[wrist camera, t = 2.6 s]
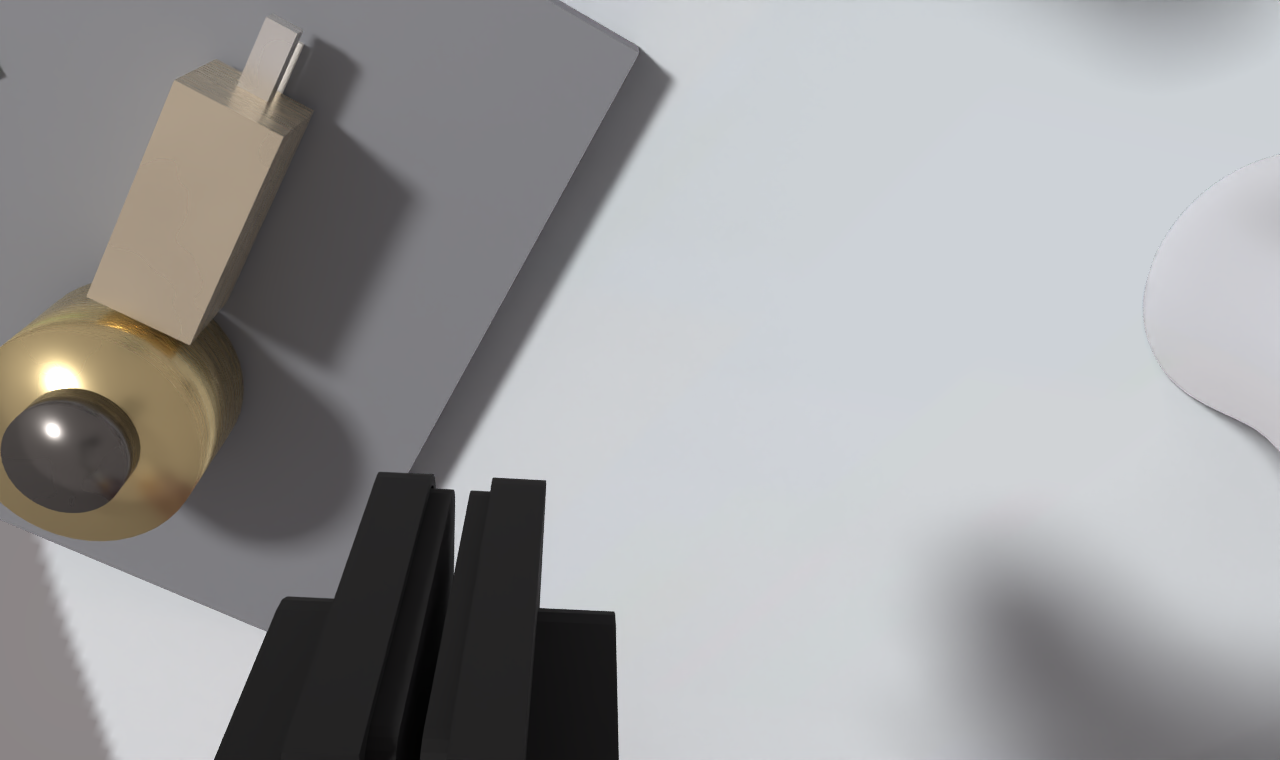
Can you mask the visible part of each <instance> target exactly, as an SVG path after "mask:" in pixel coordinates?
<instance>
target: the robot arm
mask: <svg viewBox="0 0 1280 760" xmlns="http://www.w3.org/2000/svg"><path fill="white" fill-rule="evenodd" d="M545 496H546V480H528V479H509V478H493V479H492V484H491V490H490V492H488V491H470V495H469V500H468V505H467V511H466V516H465V521H464V526H463V531H462V536H461V541H460V546H459V552H458V557H457V562H456V567H455V572H454V530H455V492H454V490H450V489H436V485H435V477H434V474H416V473H398V472H378V474H377V476H376V479H375V482H374V484H373V487H372V490H371V493H370V496H369V499H368V502H367V505H366V508H365V510H364V513H363V516H362V519H361V522H360V525H359V528H358V531H357V534H356V536H355V539H354V542H353V545H352V548H351V551H350V554H349V557H348V560H347V562H346V565H345V568H344V571H343V574H342V577H341V580H340V583H339V586H338V588H337V591H336V594H335V597H334V599H333V598H312V597H291V596H287V597H285V598H283V599H282V600H281V602H280V604H279V606H278V608H277V609H276V612H275V614H274V617H273V619H272V621H271V624H270V626H269V629H268V631H267V633H266V636H265V638H264V641H263V643H262V645H261V648H260V650H259V653H258V655H257V657H256V660H255V662H254V665H253V667H252V670H251V672H250V674H249V677H248V679H247V682H246V684H245V686H244V689H243V691H242V694H241V696H240V698H239V701H238V703H237V706H236V708H235V710H234V713H233V715H232V718H231V720H230V722H229V725H228V727H227V730H226V732H225V734H224V737H223V739H222V742H221V744H220V746H219V749H218V751H217V754H216V756H215V759H214V760H619V750H618V706H617V661H616V621H615V613H614V612H610V611H589V610H567V609H546V608H539V607H540V589H541V571H542V552H543V534H544V515H545Z"/></svg>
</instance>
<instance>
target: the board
mask: <svg viewBox="0 0 1280 760" xmlns="http://www.w3.org/2000/svg"><path fill="white" fill-rule="evenodd" d="M271 14H275V15H277V16H279V17H280V18H282V19H284V20H286V21H288V22H290V23H291V24H293V25H295V26H297V27H299V28H301V29H302V30H304V31H303V33H302V35H301V37H300V40H299V42H298V44H297V46H296V49H295V51H294V53H293V56H292V58H291V60H290V62H289V65H288V67H287V69H286V71H285V74H284V76H283V78H282V81H281V83H280V85H279V87H278V90H277V91H278V92H280V93H282V94H284V95H286V96H287V97H289V98H291V99H293V100H295V101H297V102H299V103H301V104H303V105H304V106H306V107H308V108H310V109H312V110H314V112H313V114H312V116H311V118H310V121H309V123H308V125H307V127H306V129H305V132H304V134H303V136H302V138H301V140H300V143H299V145H298V147H297V149H296V151H295V154H294V156H293V158H292V160H291V162H290V165H289V167H288V169H287V171H286V173H285V176H284V178H283V180H282V182H281V184H280V187H279V189H278V191H277V193H276V195H275V198H274V200H273V202H272V204H271V206H270V209H269V211H268V213H267V215H266V217H265V220H264V222H263V224H262V226H261V228H260V231H259V233H258V235H257V237H256V239H255V242H254V244H253V246H252V248H251V250H250V253H249V255H248V257H247V259H246V261H245V264H244V266H243V268H242V270H241V272H240V275H239V277H238V279H237V281H236V283H235V286H234V288H233V290H232V292H231V294H230V297H229V299H228V301H227V303H226V304H225V305H224V306H223V307H222V308H221V310H220V311H219V312H218V313H217V314H216V315H215V317H214V318H213V319H214V320H215V321H216V323H217V324H218V325H219V326H220V327H221V328H222V330H223V331H224V333H225V334H226V335H227V337H228V338H229V340H230V342H231V344H232V346H233V348H234V349H235V352H236V354H237V357H238V359H239V362H240V366H241V370H242V375H243V385H244V392H243V402H242V407H241V412H240V414H239V417H238V419H237V422H236V424H235V426H234V427H233V429H232V431H231V432H230V434H229V436H228V437H227V439H226V440H225V442H224V443H223V445H222V446H221V448H220V449H219V451H218V452H217V454H216V455H215V457H214V459H213V460H212V462H211V463H210V465H209V466H208V468H207V469H206V471H205V472H204V474H203V475H202V477H201V478H200V480H199V482H198V483H197V485H196V486H195V488H194V489H193V491H192V492H191V494H190V495H189V497H188V498H187V500H186V501H185V503H184V504H183V505H182V506H181V508H180V509H179V510H178V511H177V512H176V513H175V514H174V515H173V516H172V517H171V518H169V519H168V520H167V521H165V522H164V523H162V524H161V525H160V526H158V527H156V528H154V529H152V530H150V531H148V532H146V533H143V534H140V535H137V536H134V537H131V538H126V539H121V540H114V541H86V540H79V539H72V538H68V537H64V536H60V535H57V534H54V533H51V532H49V531H46V530H43V529H41V528H39V527H37V526H35V525H33V524H31V523H29V522H27V521H25V520H24V519H22V518H21V517H19V516H17V515H16V514H14V513H13V512H12V511H10V510H9V509H8V508H7V507H5V506H4V505H3V504H2V503H1V502H0V520H2V521H4V522H7V523H9V524H11V525H14V526H16V527H18V528H21V529H23V530H25V531H28V532H30V533H33V534H35V535H37V536H40V537H42V538H44V539H47V540H49V541H52V542H54V543H56V544H59V545H61V546H64V547H66V548H68V549H71V550H73V551H76V552H78V553H80V554H83V555H85V556H87V557H90V558H92V559H95V560H97V561H99V562H102V563H104V564H107V565H109V566H111V567H114V568H116V569H119V570H121V571H123V572H126V573H128V574H130V575H133V576H135V577H138V578H140V579H142V580H145V581H147V582H150V583H152V584H154V585H157V586H159V587H161V588H164V589H166V590H169V591H171V592H173V593H176V594H178V595H181V596H183V597H185V598H188V599H190V600H193V601H195V602H197V603H200V604H202V605H204V606H207V607H209V608H212V609H214V610H216V611H219V612H221V613H224V614H226V615H228V616H231V617H233V618H236V619H238V620H240V621H243V622H245V623H247V624H250V625H252V626H255V627H257V628H259V629H262V630H264V631H268V629H269V626H270V624H271V621H272V619H273V617H274V614H275V612H276V609H277V608H278V606H279V604H280V602H281V600H282V599H283V598H285V597H287V596H291V597H312V598H333V599H334V597H335V594H336V591H337V588H338V586H339V583H340V580H341V577H342V574H343V571H344V568H345V565H346V562H347V560H348V557H349V554H350V551H351V548H352V545H353V542H354V539H355V536H356V534H357V531H358V528H359V525H360V522H361V519H362V516H363V513H364V510H365V508H366V505H367V502H368V499H369V496H370V493H371V490H372V487H373V484H374V482H375V479H376V476H377V474H378V472H398V473H409V471H410V469H411V467H412V465H413V464H414V462H415V460H416V458H417V456H418V454H419V453H420V451H421V449H422V447H423V445H424V444H425V442H426V440H427V438H428V436H429V435H430V433H431V431H432V429H433V427H434V425H435V424H436V422H437V420H438V418H439V416H440V415H441V413H442V411H443V409H444V407H445V405H446V404H447V402H448V400H449V398H450V396H451V395H452V393H453V391H454V389H455V387H456V385H457V384H458V382H459V380H460V378H461V376H462V375H463V373H464V371H465V369H466V367H467V365H468V364H469V362H470V360H471V358H472V356H473V355H474V353H475V351H476V349H477V347H478V345H479V344H480V342H481V340H482V338H483V336H484V335H485V333H486V331H487V329H488V327H489V326H490V324H491V322H492V320H493V318H494V316H495V315H496V313H497V311H498V309H499V307H500V306H501V304H502V302H503V300H504V298H505V296H506V295H507V293H508V291H509V289H510V287H511V286H512V284H513V282H514V280H515V278H516V276H517V275H518V273H519V271H520V269H521V267H522V266H523V264H524V262H525V260H526V258H527V256H528V255H529V253H530V251H531V249H532V247H533V246H534V244H535V242H536V240H537V238H538V236H539V235H540V233H541V231H542V229H543V227H544V226H545V224H546V222H547V220H548V218H549V217H550V215H551V213H552V211H553V209H554V207H555V206H556V204H557V202H558V200H559V198H560V197H561V195H562V193H563V191H564V189H565V187H566V186H567V184H568V182H569V180H570V178H571V177H572V175H573V173H574V171H575V169H576V167H577V166H578V164H579V162H580V160H581V158H582V157H583V155H584V153H585V151H586V149H587V147H588V146H589V144H590V142H591V140H592V138H593V137H594V135H595V133H596V131H597V129H598V127H599V126H600V124H601V122H602V120H603V118H604V117H605V115H606V113H607V111H608V109H609V108H610V106H611V104H612V102H613V100H614V98H615V97H616V95H617V93H618V91H619V89H620V88H621V86H622V84H623V82H624V80H625V78H626V77H627V75H628V73H629V71H630V69H631V68H632V66H633V64H634V62H635V60H636V58H637V57H638V55H639V49H638V46H637V45H635V44H634V43H632V42H630V41H628V40H627V39H625V38H623V37H621V36H620V35H618V34H616V33H615V32H613V31H611V30H609V29H608V28H606V27H604V26H603V25H601V24H599V23H597V22H596V21H594V20H592V19H590V18H589V17H587V16H585V15H584V14H582V13H580V12H578V11H577V10H575V9H573V8H571V7H570V6H568V5H566V4H565V3H563V2H561V1H559V0H0V347H1V346H2V345H3V344H4V343H6V342H7V341H8V340H9V339H11V338H12V337H13V336H14V335H16V334H17V333H18V332H19V331H21V330H22V329H23V328H24V327H26V326H27V325H28V324H29V323H31V322H32V321H33V320H34V319H36V318H37V317H38V316H39V315H41V314H42V313H43V312H44V311H46V310H47V309H48V308H49V307H51V306H52V305H53V304H54V303H56V302H57V301H58V300H59V299H61V298H62V297H63V296H65V295H66V294H68V293H69V292H71V291H73V290H75V289H77V288H79V287H82V286H84V285H87V284H90V283H92V282H93V279H94V277H95V274H96V272H97V269H98V267H99V264H100V262H101V259H102V257H103V254H104V252H105V249H106V247H107V245H108V242H109V240H110V237H111V235H112V232H113V230H114V227H115V225H116V222H117V220H118V217H119V215H120V212H121V210H122V208H123V205H124V203H125V200H126V198H127V195H128V193H129V190H130V188H131V185H132V183H133V180H134V178H135V175H136V173H137V171H138V168H139V166H140V163H141V161H142V158H143V156H144V153H145V151H146V148H147V146H148V143H149V141H150V138H151V136H152V134H153V131H154V129H155V126H156V124H157V121H158V119H159V116H160V114H161V111H162V109H163V106H164V104H165V101H166V99H167V97H168V94H169V92H170V89H171V87H172V84H173V82H174V80H175V79H177V78H179V77H181V76H183V75H185V74H187V73H189V72H191V71H193V70H195V69H197V68H199V67H201V66H203V65H205V64H207V63H209V62H211V61H213V60H215V59H217V60H219V61H221V62H223V63H225V64H227V65H229V66H231V67H233V68H234V69H236V70H238V71H240V72H243V70H244V68H245V65H246V63H247V61H248V58H249V56H250V54H251V51H252V49H253V47H254V44H255V42H256V39H257V37H258V35H259V32H260V30H261V28H262V25H263V23H264V21H265V18H266V17H267V16H269V15H271Z"/></svg>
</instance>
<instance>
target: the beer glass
mask: <svg viewBox="0 0 1280 760" xmlns="http://www.w3.org/2000/svg"><path fill="white" fill-rule="evenodd" d="M1143 318H1144V326H1145V331H1146V335H1147V339H1148V342H1149V345H1150V347H1151V350H1152V352H1153V354H1154V356H1155V358H1156V360H1157V362H1158V364H1159V365H1160V367H1161V368H1162V370H1163V371H1164V372H1165V374H1166V375H1167V376H1168V377H1169V378H1170V379H1171V380H1172V381H1173V382H1174V383H1175V384H1176V385H1177V386H1178V387H1179V388H1180V389H1182V390H1183V391H1184V392H1186V393H1187V394H1188V395H1190V396H1191V397H1193V398H1194V399H1196V400H1198V401H1199V402H1201V403H1203V404H1205V405H1207V406H1209V407H1211V408H1213V409H1215V410H1217V411H1219V412H1221V413H1223V414H1225V415H1227V416H1230V417H1232V418H1234V419H1236V420H1238V421H1240V422H1242V423H1244V424H1246V425H1248V426H1250V427H1252V428H1253V429H1255V430H1256V431H1258V432H1259V433H1260V434H1262V435H1263V436H1264V437H1266V438H1267V439H1268V440H1269V441H1270V442H1271V443H1272V444H1273V445H1274V446H1275V447H1276V448H1277V449H1278V450H1279V452H1280V154H1279V155H1275V156H1271V157H1267V158H1264V159H1261V160H1258V161H1255V162H1253V163H1250V164H1248V165H1246V166H1244V167H1241V168H1239V169H1237V170H1235V171H1234V172H1232V173H1230V174H1228V175H1227V176H1225V177H1223V178H1222V179H1220V180H1219V181H1217V182H1216V183H1214V184H1213V185H1212V186H1210V187H1209V188H1208V189H1206V190H1205V191H1204V192H1203V193H1202V194H1200V195H1199V196H1198V197H1197V198H1196V199H1195V200H1194V201H1193V202H1192V203H1191V204H1190V205H1189V206H1188V207H1187V208H1186V209H1185V210H1184V211H1183V212H1182V214H1181V215H1180V216H1179V217H1178V218H1177V220H1176V221H1175V222H1174V224H1173V225H1172V226H1171V228H1170V229H1169V231H1168V232H1167V234H1166V235H1165V237H1164V239H1163V240H1162V242H1161V244H1160V246H1159V248H1158V250H1157V252H1156V254H1155V256H1154V259H1153V261H1152V264H1151V267H1150V270H1149V273H1148V277H1147V280H1146V285H1145V291H1144V299H1143Z"/></svg>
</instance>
